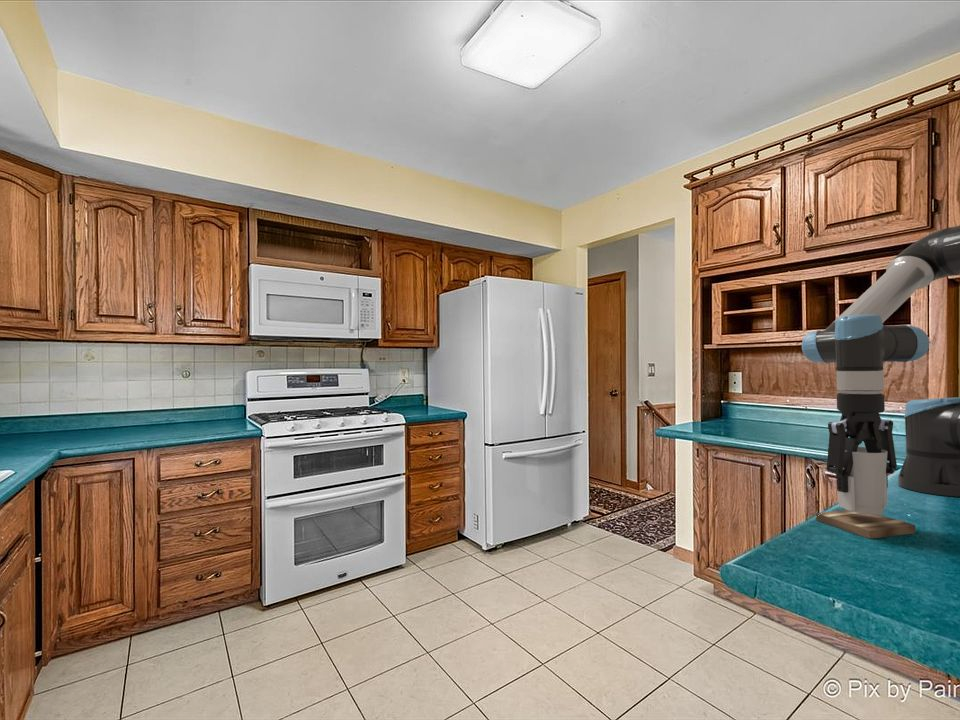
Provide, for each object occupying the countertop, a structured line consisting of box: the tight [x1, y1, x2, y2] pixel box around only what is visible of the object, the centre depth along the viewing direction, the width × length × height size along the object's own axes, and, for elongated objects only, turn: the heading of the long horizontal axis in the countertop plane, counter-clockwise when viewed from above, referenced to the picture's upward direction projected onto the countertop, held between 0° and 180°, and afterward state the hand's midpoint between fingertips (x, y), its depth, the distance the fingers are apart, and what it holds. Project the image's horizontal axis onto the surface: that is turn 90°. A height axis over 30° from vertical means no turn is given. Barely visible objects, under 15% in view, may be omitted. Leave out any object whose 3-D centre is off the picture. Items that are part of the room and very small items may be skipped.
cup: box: [843, 446, 888, 515], centre depth 96 cm, size 8×8×12 cm
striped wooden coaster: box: [815, 509, 916, 540], centre depth 96 cm, size 11×11×2 cm
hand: (863, 506), depth 96 cm, fingers closed on cup, 7 cm apart
